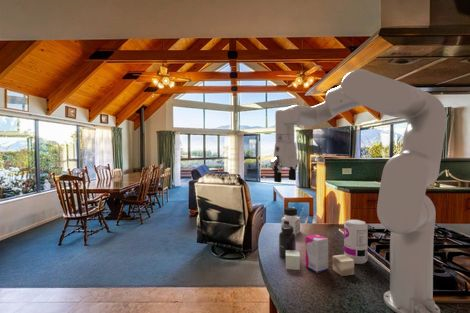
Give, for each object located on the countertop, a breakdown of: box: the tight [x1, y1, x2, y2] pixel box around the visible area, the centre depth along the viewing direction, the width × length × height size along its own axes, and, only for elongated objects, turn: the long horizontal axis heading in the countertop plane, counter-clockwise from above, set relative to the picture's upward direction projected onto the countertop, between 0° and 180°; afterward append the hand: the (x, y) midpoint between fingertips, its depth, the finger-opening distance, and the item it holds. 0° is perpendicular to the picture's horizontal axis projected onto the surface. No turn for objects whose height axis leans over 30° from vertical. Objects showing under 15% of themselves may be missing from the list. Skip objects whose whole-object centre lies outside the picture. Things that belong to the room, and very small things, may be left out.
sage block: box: [285, 250, 301, 271], centre depth 92 cm, size 5×5×5 cm
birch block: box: [332, 253, 355, 277], centre depth 88 cm, size 5×5×5 cm
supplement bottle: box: [278, 225, 297, 259], centre depth 102 cm, size 7×7×12 cm
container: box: [280, 206, 301, 236], centre depth 130 cm, size 8×8×13 cm
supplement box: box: [305, 233, 329, 274], centre depth 90 cm, size 6×6×12 cm
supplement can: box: [343, 218, 368, 265], centre depth 97 cm, size 8×8×15 cm
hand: (285, 181), depth 102 cm, fingers open, 9 cm apart
